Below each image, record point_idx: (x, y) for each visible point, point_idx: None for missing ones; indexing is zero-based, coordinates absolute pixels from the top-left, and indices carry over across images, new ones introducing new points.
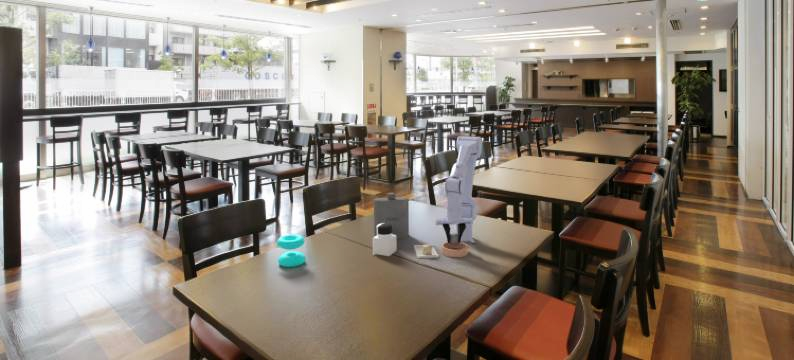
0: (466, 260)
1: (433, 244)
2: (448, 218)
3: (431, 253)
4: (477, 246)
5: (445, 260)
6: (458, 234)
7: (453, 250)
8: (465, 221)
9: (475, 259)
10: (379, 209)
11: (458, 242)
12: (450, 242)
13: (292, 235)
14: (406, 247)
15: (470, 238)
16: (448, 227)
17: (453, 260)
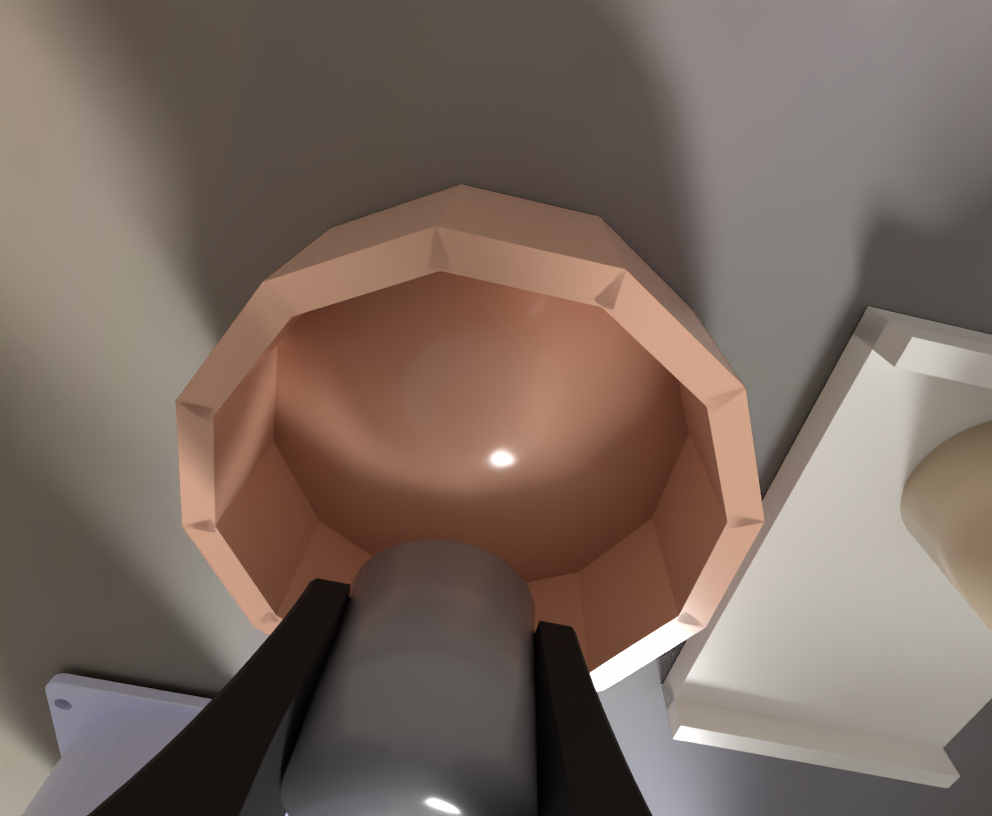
0: (376, 52)
1: (678, 737)
2: None
3: (974, 459)
4: (36, 573)
5: (788, 205)
6: (275, 794)
7: (630, 277)
8: None
9: (166, 43)
10: None
11: (349, 587)
12: (530, 624)
13: None
14: (961, 786)
15: (80, 750)
16: None
17: (639, 150)
